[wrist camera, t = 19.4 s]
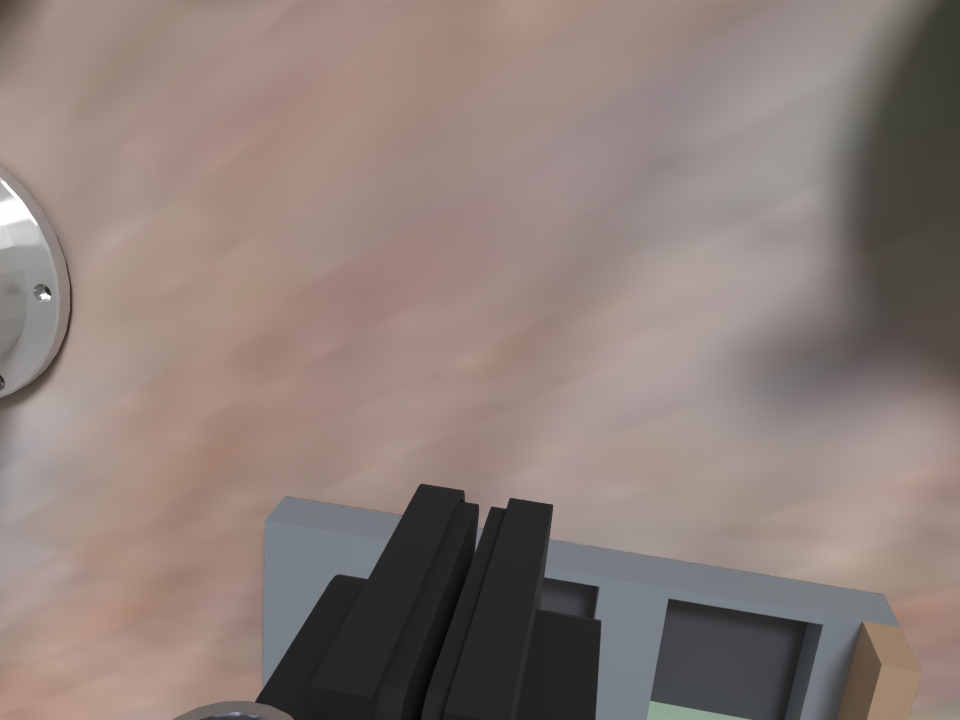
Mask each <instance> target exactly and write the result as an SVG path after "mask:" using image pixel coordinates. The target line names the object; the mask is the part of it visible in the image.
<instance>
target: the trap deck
mask: <svg viewBox="0 0 960 720" xmlns="http://www.w3.org/2000/svg"><path fill="white" fill-rule="evenodd" d="M401 518H402V515H396V514H390V513H384V512H378V511H372V510H366V509H360V508H354V507H347V506H341V505H335V504H329V503H323V502H317V501H311V500H305V499H299V498H293V497H287V496H285V498H284V499H283V500H282V501H281V502H280V503H279V504H278V506H277V507H276V508H275V509H274V510H273V511H272V512H271V514H270V515H269V516H268V517H267V518H266V519H265V553H264V619H263V686H262V690H263V688H264V687H265V685H266V683H267V682H268V680H269V679H270V677H271V675H272V674H273V672H274V671H275V669H276V667H277V666H278V664H279V663H280V661H281V659H282V658H283V656H284V655H285V653H286V651H287V650H288V648H289V647H290V645H291V643H292V642H293V640H294V639H295V637H296V635H297V634H298V632H299V631H300V629H301V627H302V626H303V624H304V623H305V621H306V619H307V618H308V616H309V615H310V613H311V611H312V610H313V608H314V607H315V605H316V603H317V602H318V600H319V599H320V597H321V595H322V594H323V592H324V591H325V589H326V587H327V586H328V584H329V583H330V581H331V580H332V579H333V578H334V576H335V575H338V574H342V575H348V576H353V577H359V578H365V579H368V578H369V576H370V574H371V572H372V571H373V569H374V567H375V565H376V563H377V561H378V560H379V558H380V556H381V554H382V552H383V551H384V549H385V547H386V545H387V543H388V541H389V540H390V538H391V536H392V534H393V532H394V531H395V529H396V527H397V525H398V523H399V521H400V520H401ZM482 532H483V529H481V528H477V537H476V547H475V552H476V549H477V546H478V543H479V540H480V537H481V534H482ZM540 609H541V610H547V611H552V612H558V613H564V614H569V615H575V616H581V617H586V618H592V619H598V620H601V640H600V656H599V672H598V688H597V704H596V720H909V716H910V713H911V709H912V706H913V702H914V699H915V696H916V692H917V689H918V685H919V682H920V679H921V675H922V670H921V668H920V666H919V664H918V662H917V660H916V658H915V656H914V654H913V652H912V650H911V648H910V646H909V644H908V642H907V640H906V638H905V636H904V634H903V632H902V630H901V628H900V626H899V624H898V622H897V620H896V618H895V616H894V614H893V612H892V610H891V608H890V606H889V604H888V602H887V600H886V598H885V596H884V595H883V594H876V593H870V592H864V591H858V590H852V589H846V588H840V587H834V586H828V585H822V584H816V583H810V582H804V581H797V580H791V579H785V578H779V577H773V576H767V575H761V574H755V573H749V572H743V571H737V570H731V569H724V568H718V567H712V566H706V565H700V564H694V563H688V562H682V561H676V560H670V559H664V558H658V557H651V556H645V555H639V554H633V553H627V552H621V551H615V550H609V549H603V548H597V547H591V546H585V545H579V544H572V543H566V542H560V541H554V540H549V544H548V552H547V560H546V567H545V575H544V583H543V591H542V598H541V606H540Z"/></svg>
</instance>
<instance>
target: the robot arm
mask: <svg viewBox="0 0 960 720" xmlns="http://www.w3.org/2000/svg"><path fill="white" fill-rule="evenodd" d="M69 313H70V283H69V278H68V273H67V267H66V262H65V258H64V255H63V253H62V250H61V247H60V245H59V242H58V239H57V236H56V234H55V232H54V230H53V229H52V227H51V225H50V223H49V221H48V220H47V218H46V216H45V214H44V212H43V211H42V209H41V208H40V207H39V205H38V204H37V203H36V202H35V200H34V199H33V198H32V196H31V195H30V194H29V193H28V191H27V190H26V189H25V188H24V187H23V186H22V185H21V184H20V183H19V182H18V181H17V180H16V179H14V178H13V177H12V176H11V175H10V174H9V173H8V172H7V171H6V170H4V169H3V168H1V167H0V398H1V397H4V396H7V395H9V394H12V393H13V392H15V391H17V390H19V389H21V388H23V387H25V386H26V385H28V384H30V383H32V382H33V381H34V380H35V379H36V378H37V377H38V376H39V375H41V374H42V373H43V372H44V371H45V370H46V369H47V367H48V366H49V365H50V363H51V362H52V360H53V359H54V357H55V356H56V354H57V353H58V351H59V348H60V346H61V343H62V341H63V339H64V336H65V334H66V330H67V324H68V319H69ZM552 512H553V505H551V504H545V503H539V502H533V501H526V500H520V499H514V498H510V499H509V502H508V505H507V509H503V508H497V507H491V509H490V511H489V514H488V517H487V520H486V523H485V526H484V529H483V532H482V534H481V537H480V540H479V543H478V546H477V549H476V552H475V547H476V537H477V527H478V517H479V505H478V504H472V503H466V502H465V493H464V491H463V490H457V489H451V488H445V487H438V486H432V485H426V484H420V486H419V487H418V489H417V491H416V492H415V494H414V496H413V498H412V500H411V501H410V503H409V505H408V507H407V509H406V511H405V512H404V514H403V516H402V518H401V520H400V521H399V523H398V525H397V527H396V529H395V531H394V532H393V534H392V536H391V538H390V540H389V541H388V543H387V545H386V547H385V549H384V551H383V552H382V554H381V556H380V558H379V560H378V561H377V563H376V565H375V567H374V569H373V571H372V572H371V574H370V576H369V578H368V579H365V578H359V577H353V576H348V575H342V574H338V575H335V576H334V578H333V579H332V580H331V581H330V583H329V584H328V586H327V587H326V589H325V591H324V592H323V594H322V595H321V597H320V599H319V600H318V602H317V603H316V605H315V607H314V608H313V610H312V611H311V613H310V615H309V616H308V618H307V619H306V621H305V623H304V624H303V626H302V627H301V629H300V631H299V632H298V634H297V635H296V637H295V639H294V640H293V642H292V643H291V645H290V647H289V648H288V650H287V651H286V653H285V655H284V656H283V658H282V659H281V661H280V663H279V664H278V666H277V667H276V669H275V671H274V672H273V674H272V675H271V677H270V679H269V680H268V682H267V683H266V685H265V687H264V688H263V690H262V691H261V693H260V695H259V696H258V698H257V699H256V701H255V702H250V701H233V702H220V703H215V704H211V705H207V706H203V707H198V708H196V709H194V710H192V711H189V712H187V713H185V714H183V715H181V716H179V717H177V718H175V719H173V720H596V704H597V688H598V672H599V656H600V640H601V620H598V619H592V618H586V617H581V616H575V615H569V614H564V613H558V612H552V611H547V610H541V609H540V606H541V598H542V591H543V583H544V575H545V567H546V560H547V552H548V544H549V536H550V529H551V521H552Z"/></svg>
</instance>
